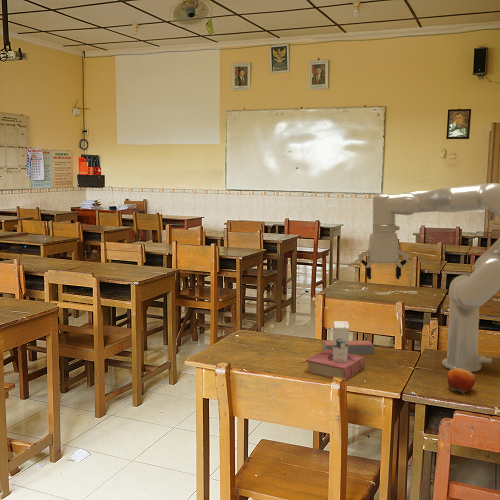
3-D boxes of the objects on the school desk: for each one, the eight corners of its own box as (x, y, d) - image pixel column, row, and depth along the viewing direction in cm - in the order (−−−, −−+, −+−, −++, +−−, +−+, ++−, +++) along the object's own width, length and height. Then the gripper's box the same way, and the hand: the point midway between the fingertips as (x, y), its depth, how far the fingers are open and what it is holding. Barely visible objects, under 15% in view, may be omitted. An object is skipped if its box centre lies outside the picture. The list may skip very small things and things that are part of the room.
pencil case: (369, 348, 206) (369, 340, 205) (373, 353, 200) (374, 344, 199) (322, 349, 205) (322, 340, 204) (325, 354, 199) (325, 345, 198)
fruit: (442, 389, 161) (446, 363, 163) (447, 395, 167) (451, 370, 170) (470, 395, 156) (474, 368, 159) (474, 400, 162) (478, 375, 165)
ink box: (332, 353, 185) (332, 320, 184) (347, 354, 185) (347, 321, 183) (332, 362, 177) (333, 327, 175) (348, 362, 176) (349, 327, 175)
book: (346, 383, 171) (347, 368, 171) (305, 373, 180) (305, 359, 180) (365, 371, 183) (366, 357, 182) (326, 362, 192) (326, 349, 191)
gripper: (407, 228, 188) (406, 276, 190) (357, 229, 190) (357, 277, 192) (411, 230, 181) (411, 280, 183) (359, 231, 182) (359, 280, 184)
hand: (383, 278), depth 187 cm, fingers open, 9 cm apart
